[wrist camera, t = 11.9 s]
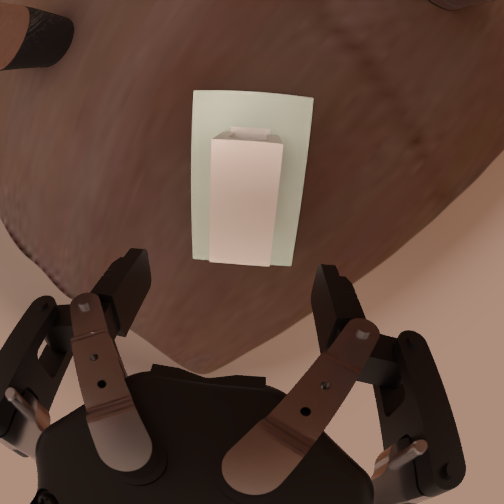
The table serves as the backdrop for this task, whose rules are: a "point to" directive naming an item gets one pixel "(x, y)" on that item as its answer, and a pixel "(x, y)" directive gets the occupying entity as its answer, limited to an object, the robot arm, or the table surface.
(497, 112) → the table surface
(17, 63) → the travel mug
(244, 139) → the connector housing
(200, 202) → the board
